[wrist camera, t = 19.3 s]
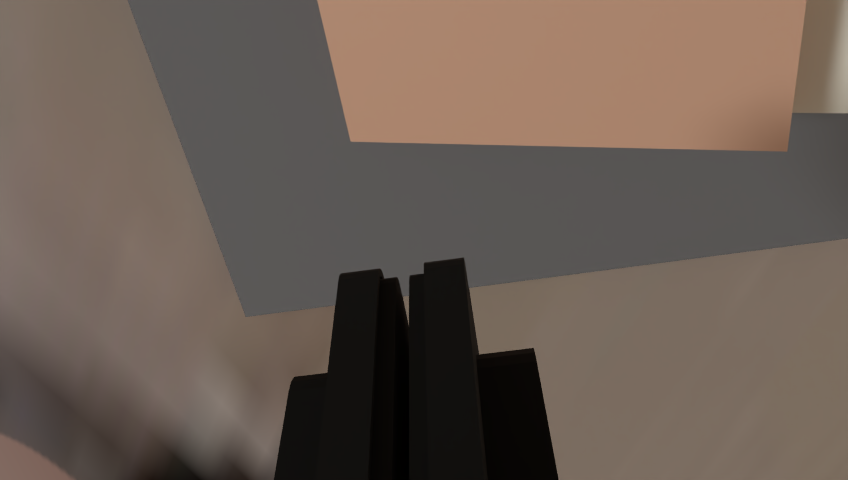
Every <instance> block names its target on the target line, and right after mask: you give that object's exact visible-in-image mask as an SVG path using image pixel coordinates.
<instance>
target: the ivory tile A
mask: <svg viewBox="0 0 848 480" xmlns="http://www.w3.org/2000/svg"><path fill="white" fill-rule="evenodd" d="M792 113H848V0H807V1H806V9H805V17H804V25H803V33H802V40H801V48H800V56H799V64H798V72H797V79H796V87H795V95H794V103H793V111H792Z"/></svg>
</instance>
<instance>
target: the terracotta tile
mask: <svg viewBox="0 0 848 480" xmlns="http://www.w3.org/2000/svg"><path fill="white" fill-rule="evenodd" d="M806 1H807V0H317V2H318V6H319V10H320V14H321V18H322V23H323V27H324V31H325V35H326V40H327V44H328V48H329V52H330V57H331V61H332V65H333V69H334V73H335V78H336V82H337V86H338V90H339V95H340V99H341V103H342V107H343V112H344V116H345V120H346V124H347V128H348V133H349V137H350V141H351V142H385V143H429V144H473V145H518V146H562V147H606V148H651V149H695V150H740V151H784V152H787V150H788V142H789V134H790V126H791V118H792V111H793V103H794V95H795V87H796V79H797V72H798V64H799V56H800V48H801V40H802V33H803V25H804V17H805V9H806Z"/></svg>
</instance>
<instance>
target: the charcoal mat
mask: <svg viewBox="0 0 848 480" xmlns="http://www.w3.org/2000/svg"><path fill="white" fill-rule="evenodd" d="M128 3H129V5H130V8H131V11H132V13H133V16H134V19H135V21H136V24H137V27H138V29H139V32H140V35H141V37H142V40H143V43H144V45H145V48H146V51H147V53H148V56H149V59H150V62H151V64H152V67H153V70H154V72H155V75H156V78H157V80H158V83H159V86H160V88H161V91H162V94H163V96H164V99H165V102H166V104H167V107H168V110H169V112H170V115H171V118H172V120H173V123H174V126H175V128H176V131H177V134H178V136H179V139H180V142H181V144H182V147H183V150H184V153H185V155H186V158H187V161H188V163H189V166H190V169H191V171H192V174H193V177H194V179H195V182H196V185H197V187H198V190H199V193H200V195H201V198H202V201H203V203H204V206H205V209H206V211H207V214H208V217H209V219H210V222H211V225H212V227H213V230H214V233H215V235H216V238H217V241H218V243H219V246H220V249H221V252H222V254H223V257H224V260H225V262H226V265H227V268H228V270H229V273H230V276H231V278H232V281H233V284H234V286H235V289H236V292H237V294H238V297H239V300H240V302H241V305H242V308H243V310H244V313H245V316H246V317H249V316H256V315H264V314H272V313H279V312H287V311H295V310H302V309H310V308H318V307H325V306H333V305H336V296H337V287H338V279H339V275H340V274H341V273H348V272H355V271H363V270H371V269H378V268H380V269H381V270H382V272H383V275H384V279H385V278H393V277H398V280H399V283H400V287H401V292H402V296H409V276H410V275H416V274H424V263H425V262H432V261H440V260H448V259H455V258H463V257H464V260H465V266H466V272H467V279H468V285H469V288H471V287H479V286H487V285H494V284H502V283H510V282H517V281H525V280H533V279H540V278H548V277H556V276H563V275H571V274H579V273H586V272H594V271H602V270H609V269H617V268H625V267H632V266H640V265H648V264H655V263H663V262H671V261H678V260H686V259H694V258H701V257H709V256H717V255H724V254H732V253H740V252H747V251H755V250H763V249H770V248H778V247H786V246H793V245H801V244H809V243H816V242H824V241H832V240H839V239H847V238H848V113H792V118H791V126H790V134H789V142H788V150H787V152H784V151H740V150H695V149H651V148H606V147H562V146H518V145H473V144H429V143H385V142H351V141H350V137H349V133H348V128H347V124H346V120H345V116H344V112H343V107H342V103H341V99H340V95H339V90H338V86H337V82H336V78H335V73H334V69H333V65H332V61H331V57H330V52H329V48H328V44H327V40H326V35H325V31H324V27H323V23H322V18H321V14H320V10H319V6H318V2H317V0H128Z"/></svg>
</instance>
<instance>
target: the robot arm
mask: <svg viewBox="0 0 848 480" xmlns="http://www.w3.org/2000/svg"><path fill="white" fill-rule="evenodd" d="M274 480H558V474H557V469H556V464H555V458H554V453H553V447H552V442H551V437H550V431H549V426H548V420H547V415H546V410H545V404H544V399H543V393H542V388H541V382H540V377H539V372H538V366H537V361H536V356H535V351H534V348H530V349H522V350H513V351H505V352H497V353H488V354H480V355H479V351H478V345H477V338H476V332H475V325H474V318H473V312H472V305H471V298H470V292H469V285H468V279H467V272H466V266H465V260H464V257H463V258H455V259H448V260H440V261H432V262H425V263H424V274H416V275H410V276H409V325H408V320H407V315H406V311H405V306H404V301H403V297H402V292H401V287H400V283H399V280H398V277H393V278H385V279H384V275H383V272H382V270H381V269H380V268H378V269H371V270H363V271H355V272H348V273H341V274H340V275H339V279H338V287H337V296H336V305H335V313H334V322H333V330H332V339H331V347H330V356H329V365H328V373H323V374H315V375H306V376H298V377H294V378H293V380H292V381H291V385H290V389H289V393H288V399H287V405H286V411H285V417H284V423H283V429H282V435H281V441H280V447H279V453H278V459H277V465H276V471H275V477H274Z"/></svg>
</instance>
